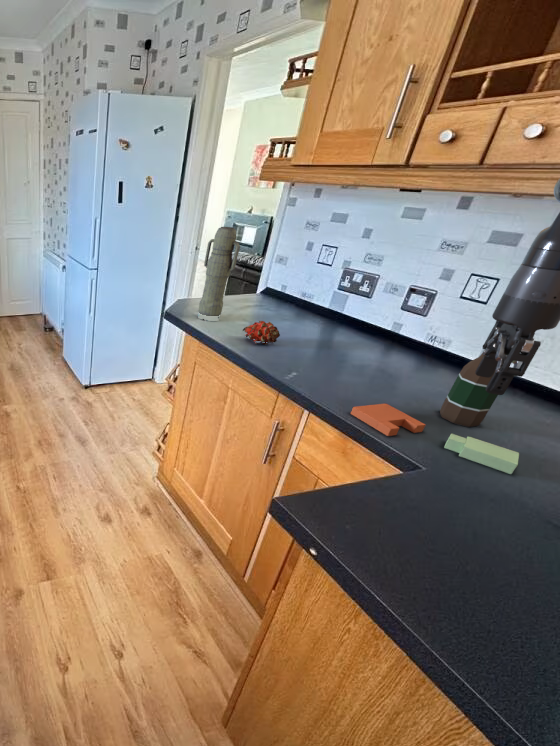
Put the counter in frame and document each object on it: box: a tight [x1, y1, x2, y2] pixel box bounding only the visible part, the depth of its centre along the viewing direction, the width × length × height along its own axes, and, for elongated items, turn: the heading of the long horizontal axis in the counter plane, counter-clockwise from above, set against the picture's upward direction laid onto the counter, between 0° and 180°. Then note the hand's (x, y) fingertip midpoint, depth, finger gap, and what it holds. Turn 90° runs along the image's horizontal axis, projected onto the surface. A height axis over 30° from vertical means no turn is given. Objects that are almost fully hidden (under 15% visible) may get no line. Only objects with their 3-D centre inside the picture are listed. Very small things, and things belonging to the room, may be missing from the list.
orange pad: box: [350, 403, 426, 437], centre depth 99 cm, size 10×10×2 cm
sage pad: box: [443, 433, 520, 475], centre depth 87 cm, size 6×11×2 cm, turn 42°
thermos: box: [197, 226, 241, 322], centre depth 161 cm, size 9×12×35 cm
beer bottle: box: [439, 352, 499, 428], centre depth 96 cm, size 8×8×24 cm
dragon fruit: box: [242, 320, 281, 345], centre depth 144 cm, size 8×8×12 cm
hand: (487, 384), depth 74 cm, fingers open, 8 cm apart
